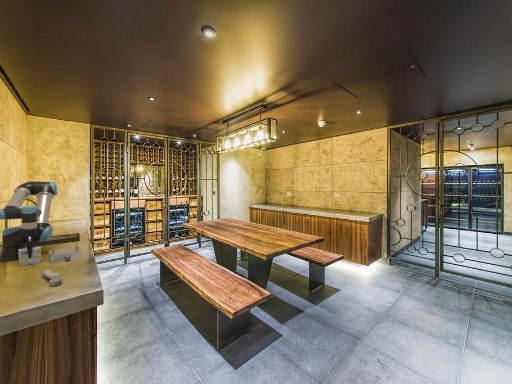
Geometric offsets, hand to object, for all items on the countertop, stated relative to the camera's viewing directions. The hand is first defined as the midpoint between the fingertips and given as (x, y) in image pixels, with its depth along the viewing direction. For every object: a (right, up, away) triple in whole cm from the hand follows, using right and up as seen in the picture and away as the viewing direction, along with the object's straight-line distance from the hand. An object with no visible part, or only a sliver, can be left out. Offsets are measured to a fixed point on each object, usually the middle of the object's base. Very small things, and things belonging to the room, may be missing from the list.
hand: (30, 261), depth 157 cm
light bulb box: (0, -2, 0) cm, 2 cm away
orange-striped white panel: (+14, -1, +13) cm, 19 cm away
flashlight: (+40, -3, -28) cm, 49 cm away
